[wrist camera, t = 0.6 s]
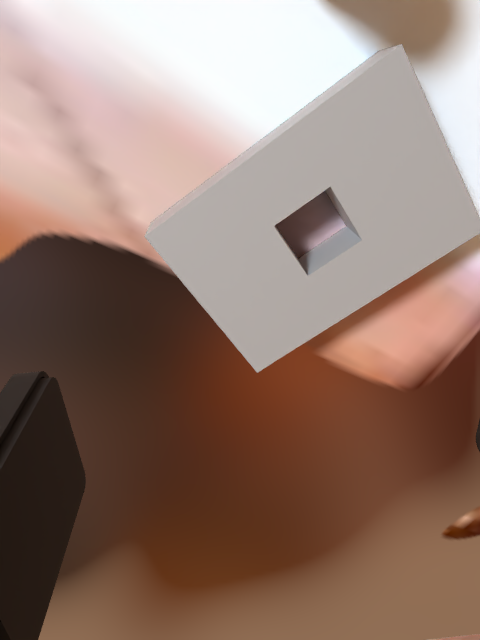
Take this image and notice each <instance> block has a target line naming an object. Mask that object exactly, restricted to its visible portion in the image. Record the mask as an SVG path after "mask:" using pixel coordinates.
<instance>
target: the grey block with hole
mask: <svg viewBox="0 0 480 640" xmlns="http://www.w3.org/2000/svg"><path fill="white" fill-rule="evenodd" d="M323 191H326V193H327V194H328V196H329V198H330V199H331V201H332V203H333V205H334V206H335V208H336V210H337V211H338V213H339V215H340V216H341V218H342V220H343V221H344V223H345V225H346V227H344V228H343V229H341V230H340V231H338V232H337V233H335V234H334V235H333V236H331V237H330V238H328V239H327V240H325V241H324V242H322V243H321V244H319V245H318V246H316V247H315V248H313V249H312V250H310V251H309V252H307V253H306V254H304V255H303V256H301V257H300V258H297V257H296V255H295V254H294V252H293V251H292V250H291V248H290V247H289V245H288V244H287V242H286V241H285V239H284V238H283V236H282V235H281V233H280V232H279V230H278V229H277V227H276V226H275V225H276V224H278V223H279V222H281V221H282V220H283V219H285V218H286V217H288V216H289V215H291V214H292V213H293V212H295V211H296V210H298V209H299V208H301V207H302V206H303V205H305V204H306V203H308V202H309V201H311V200H312V199H313V198H315V197H316V196H318V195H319V194H321V193H322V192H323ZM479 233H480V218H479V216H478V213H477V211H476V209H475V207H474V204H473V202H472V200H471V198H470V195H469V193H468V191H467V189H466V186H465V184H464V182H463V180H462V177H461V175H460V173H459V171H458V169H457V166H456V164H455V162H454V160H453V157H452V155H451V153H450V151H449V148H448V146H447V144H446V142H445V139H444V137H443V135H442V133H441V130H440V128H439V126H438V124H437V122H436V119H435V117H434V115H433V113H432V110H431V108H430V106H429V104H428V101H427V99H426V97H425V95H424V92H423V90H422V88H421V86H420V83H419V81H418V79H417V77H416V75H415V72H414V70H413V68H412V66H411V63H410V61H409V59H408V57H407V54H406V52H405V50H404V48H403V45H402V44H401V45H397V46H394V47H390V48H387V49H383V50H380V51H378V52H377V53H375V54H374V55H373V56H371V57H370V58H369V59H367V60H366V61H365V62H363V63H362V64H361V65H359V66H358V67H357V68H355V69H354V70H353V71H351V72H350V73H349V74H347V75H346V76H345V77H343V78H342V79H341V80H339V81H338V82H337V83H335V84H334V85H333V86H331V87H330V88H329V89H327V90H326V91H325V92H323V93H322V94H321V95H320V96H318V97H317V98H316V99H314V100H313V101H312V102H310V103H309V104H308V105H306V106H305V107H304V108H302V109H301V110H300V111H298V112H297V113H296V114H294V115H293V116H292V117H290V118H289V119H288V120H286V121H285V122H284V123H282V124H281V125H280V126H278V127H277V128H276V129H274V130H273V131H272V132H270V133H269V134H268V135H266V136H265V137H264V138H262V139H261V140H260V141H258V142H257V143H256V144H254V145H253V146H252V147H250V148H249V149H248V150H246V151H245V152H244V153H242V154H241V155H240V156H238V157H237V158H236V159H234V160H233V161H232V162H230V163H229V164H228V165H226V166H225V167H224V168H223V169H221V170H220V171H219V172H217V173H216V174H215V175H213V176H212V177H211V178H209V179H208V180H207V181H205V182H204V183H203V184H201V185H200V186H199V187H197V188H196V189H195V190H193V191H192V192H191V193H189V194H188V195H187V196H185V197H184V198H183V199H181V200H180V201H179V202H177V203H176V204H175V205H173V206H172V207H171V208H169V209H168V210H167V211H165V212H164V213H163V214H161V215H160V216H159V217H157V218H156V219H155V220H153V221H152V222H151V223H150V225H149V228H148V230H147V232H146V234H145V236H144V237H145V238H146V239H147V240H148V241H149V243H150V244H151V245H152V246H153V248H154V249H155V250H156V251H157V252H158V254H159V255H160V256H161V257H162V258H163V260H164V261H165V262H166V263H167V264H168V266H169V267H170V268H171V269H172V270H173V272H174V273H175V274H176V275H177V276H178V278H179V279H180V280H181V281H182V282H183V284H184V285H185V286H186V287H187V288H188V290H189V291H190V292H191V293H192V294H193V296H194V297H195V298H196V299H197V301H198V302H199V303H200V304H201V305H202V307H203V308H204V309H205V310H206V311H207V313H208V314H209V315H210V316H211V317H212V319H213V320H214V321H215V322H216V323H217V324H218V326H219V327H220V328H221V329H222V331H223V332H224V333H225V334H226V335H227V337H228V338H229V339H230V340H231V341H232V343H233V344H234V345H235V346H236V347H237V349H238V350H239V351H240V352H241V353H242V355H243V356H244V357H245V358H246V360H247V361H248V362H249V363H250V364H251V366H252V367H253V368H254V369H255V370H256V371H257V372H259V371H261V370H262V369H264V368H265V367H267V366H268V365H270V364H272V363H273V362H275V361H276V360H278V359H280V358H281V357H283V356H284V355H286V354H288V353H289V352H291V351H293V350H294V349H296V348H297V347H299V346H301V345H302V344H304V343H305V342H307V341H309V340H310V339H312V338H313V337H315V336H316V335H318V334H320V333H321V332H323V331H324V330H326V329H328V328H329V327H331V326H332V325H334V324H336V323H337V322H339V321H340V320H342V319H344V318H345V317H347V316H348V315H350V314H352V313H353V312H355V311H356V310H358V309H360V308H361V307H363V306H364V305H366V304H368V303H369V302H371V301H372V300H374V299H376V298H377V297H379V296H380V295H382V294H384V293H385V292H387V291H388V290H390V289H392V288H393V287H395V286H396V285H398V284H400V283H401V282H403V281H404V280H406V279H408V278H409V277H411V276H412V275H414V274H416V273H417V272H419V271H420V270H422V269H423V268H425V267H427V266H428V265H430V264H431V263H433V262H435V261H436V260H438V259H439V258H441V257H443V256H444V255H446V254H447V253H449V252H451V251H452V250H454V249H455V248H457V247H459V246H460V245H462V244H463V243H465V242H467V241H468V240H470V239H471V238H473V237H475V236H476V235H478V234H479Z"/></svg>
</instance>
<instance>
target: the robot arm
mask: <svg viewBox="0 0 480 640" xmlns="http://www.w3.org/2000/svg"><path fill="white" fill-rule="evenodd" d="M476 443H477V447H478V449H479V451H480V420H479V425H478V429H477V433H476ZM84 489H85V472H84V468H83V465H82V462H81V458H80V455H79V451H78V448H77V445H76V441H75V438H74V434H73V431H72V428H71V425H70V421H69V418H68V415H67V411H66V408H65V404H64V401H63V398H62V394H61V391H60V387H59V384H58V382H57V380H56V378H54V377H52V378H49V377H48V375H47V374H46V373H45V372H44V371H41V372H30V373H18V374H14V375H13V376H12V377H11V378H10V379H9V381H8V382H7V384H6V385H5V387H4V388H3V390H2V391H1V392H0V640H38V638H39V635H40V632H41V628H42V625H43V622H44V619H45V616H46V612H47V609H48V606H49V602H50V599H51V596H52V593H53V590H54V587H55V583H56V580H57V577H58V574H59V570H60V567H61V564H62V561H63V558H64V554H65V551H66V548H67V545H68V541H69V538H70V535H71V532H72V528H73V525H74V522H75V519H76V516H77V512H78V509H79V506H80V503H81V499H82V496H83V493H84ZM430 640H480V634H476V635H467V636H458V637H449V638H439V639H430Z"/></svg>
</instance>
